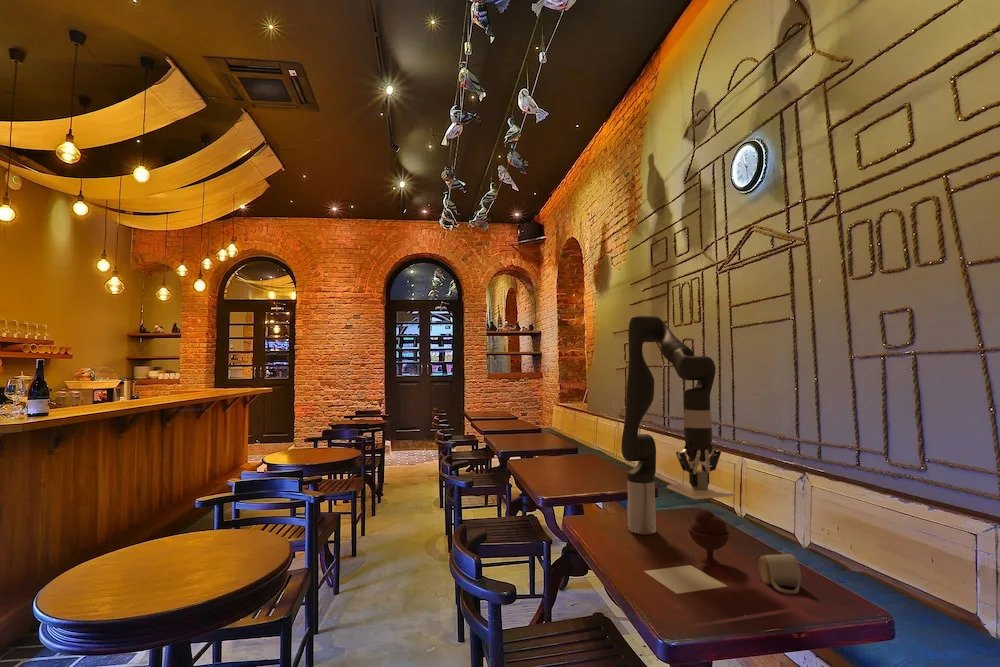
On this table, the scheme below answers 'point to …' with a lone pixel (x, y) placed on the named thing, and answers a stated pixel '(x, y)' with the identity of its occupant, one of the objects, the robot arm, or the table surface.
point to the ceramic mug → (780, 571)
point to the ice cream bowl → (709, 534)
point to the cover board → (700, 493)
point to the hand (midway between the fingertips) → (699, 485)
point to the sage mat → (684, 579)
